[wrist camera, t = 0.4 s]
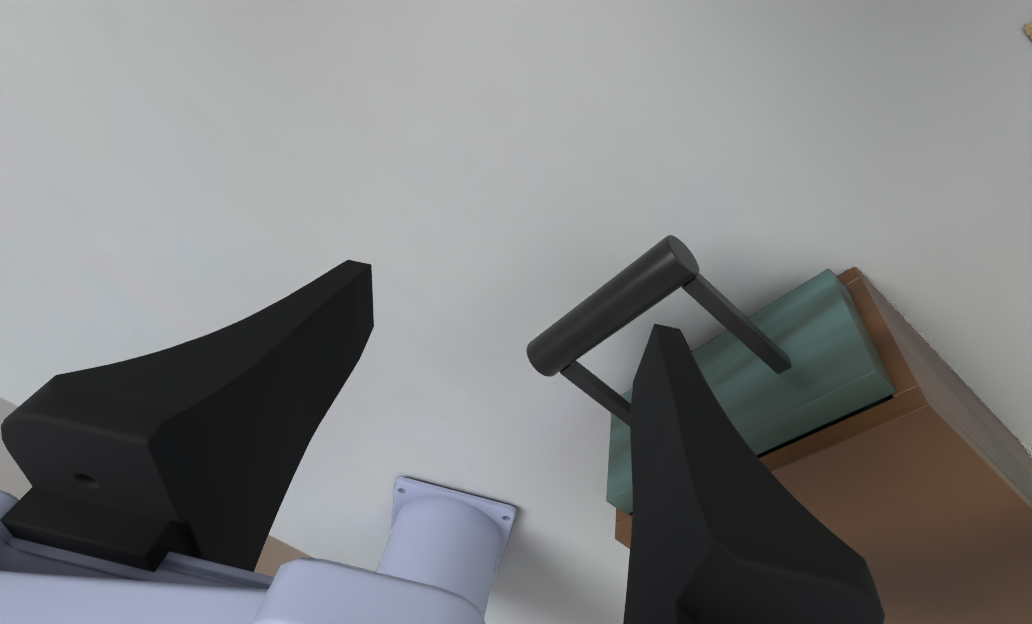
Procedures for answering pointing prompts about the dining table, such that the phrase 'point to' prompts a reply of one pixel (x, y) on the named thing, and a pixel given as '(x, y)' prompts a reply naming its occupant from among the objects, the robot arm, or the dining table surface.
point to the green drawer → (729, 356)
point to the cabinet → (919, 486)
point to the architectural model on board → (1028, 29)
